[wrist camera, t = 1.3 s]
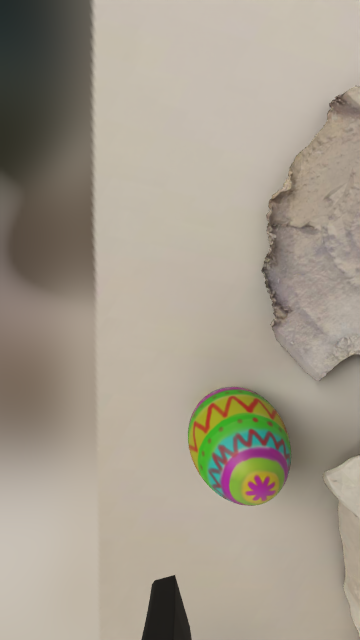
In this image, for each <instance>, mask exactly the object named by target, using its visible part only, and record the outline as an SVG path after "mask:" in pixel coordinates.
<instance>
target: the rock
mask: <svg viewBox="0 0 360 640" xmlns="http://www.w3.org/2000/svg"><path fill="white" fill-rule="evenodd" d="M323 479H324V482H325V485H326V486H327V487H328V488H329V489H330V490H331V491H332V493H333V494H334V495H335V496H336V497H337V498H338V499H339V505H338V516H339V532H340V536H341V539H342V542H343V557H344V563H345V569H346V575H345V582H344V586H343V587H344V592H345V594H346V597H347V599H348V601H349V605H350V613H351V618H352V620H353V622H354V624H355V626H356V628H357V631H358V633H359V636H360V455H358V456H354V457H351V458H350V459H348V460H347V461H346V462H344V463H343V464H341V465H340V466H338V467H336V468H333V469H331V470H328V471H325V472H324V474H323Z"/></svg>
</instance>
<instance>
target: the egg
mask: <svg viewBox="0 0 360 640" xmlns="http://www.w3.org/2000/svg"><path fill="white" fill-rule="evenodd" d="M188 443H189V450H190V454H191V457H192V460H193V462H194V465H195V467H196V469H197V470H198V472H199V474H200V475H201V477H202V478H203V480H204V481H205V482H206V483H207V484H208V485H209V487H210V488H212V489H213V490H214V491H215V492H216V493H217V494H219V495H220V496H222V497H223V498H225V499H227V500H229V501H231V502H234V503H237V504H241V505H248V506H253V505H259V504H263V503H265V502H268V501H269V500H271V499H272V498H274V497H275V496H276V495H277V494H278V493H279V491H280V490H281V489H282V487H283V485H284V484H285V482H286V479H287V477H288V473H289V469H290V463H291V448H290V442H289V437H288V434H287V431H286V428H285V425H284V423H283V421H282V419H281V418H280V416H279V414H278V413H277V411H276V410H275V409H274V408H273V406H272V405H271V404H270V403H269V402H268V401H267V400H265V399H264V398H263V397H261V396H260V395H258V394H257V393H255V392H253V391H250V390H247V389H244V388H239V387H226V388H221V389H218V390H215V391H213V392H211V393H210V394H208V395H207V396H206V397H204V398H203V399H202V400H201V401H200V402H199V404H198V405H197V406H196V408H195V410H194V412H193V414H192V416H191V419H190V423H189V429H188Z"/></svg>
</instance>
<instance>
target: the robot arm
mask: <svg viewBox="0 0 360 640" xmlns="http://www.w3.org/2000/svg"><path fill="white" fill-rule="evenodd" d="M142 640H191V632H190V626H189V623H188V619H187V616H186V612H185V609H184V605H183V602H182V598H181V595H180V591H179V588H178V584H177V581H176V577H175V575H173V576H170V577H166V578H162V579H159V580H155V581H154V582H153V584H152V588H151V595H150V601H149V607H148V612H147V617H146V622H145V627H144V631H143V636H142Z"/></svg>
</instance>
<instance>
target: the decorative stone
mask: <svg viewBox="0 0 360 640" xmlns="http://www.w3.org/2000/svg"><path fill="white" fill-rule="evenodd" d="M335 98H336V100H334V101H333V100H332V102H331V103H330V104H329V105H330V107H331V109H330V110H329V111H328V114H327V120H328V121H327V122H326V124H325V125H324V127H323V128H322V129H321V130H320V132H319V133H318V134H317V135H316V136H315V138H314V139H313V140H312V142H311V143H310V145H309V146H308V147H305V149H304V150H302V151H301V152H300V153H299V154H298V155H297V156H296V158H295V160H294V162H293V163H292V165H291V167H290V170H289V174H288V176H289V178H288V179H286V182H285V183H284V187H283V189H281V190H279V191H277V193H275V194H274V195H272V199H270V201H269V208H270V211H269V212H268V214H267V215H266V217H267V220H268V221H269V223H268V226H267V234H269V237H268V239H269V243H270V249H269V250H270V252H269V253H268V254H267V256H266V258H265V260H264V265H263V269H262V272H263V274H264V276H265V279H266V281H265V284H266V287H267V288H268V289H267V292H268V293H270V298H271V299H272V300H273V301H272V302H273V304H272V306H273V308H274V313H273V314H274V315H275V316H276V318H275V319H273V321H272V323H271V326H272V329H273V331H274V333H275V337H276V340H277V341H278V342H279V343H280V344H281V346H282V347H284V348H285V349H287V352H288V353H289V354H290V355H291V356H292V357H293V358H294V359H295V360H296V362H297V363H298V364H299V365H300V366H301V367H302V368H303V369H304V370H305V371H306V372H307V374H309V375H311V376H313V378H314V379H315V380H316V381H320V379H322V377H324V376H325V375H326V374H327V372H329V371H331V370H333V367H335V366H336V365H337V364H338V363H340V362H341V361H342V360H344V359H346V358H347V357H350V356H351V355H353V354H360V86H359V87H357V86H355V87H354V88H351V89H350V90H349V91H347V92H345V93H344V94H343V95H338V96H337V97H335Z"/></svg>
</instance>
